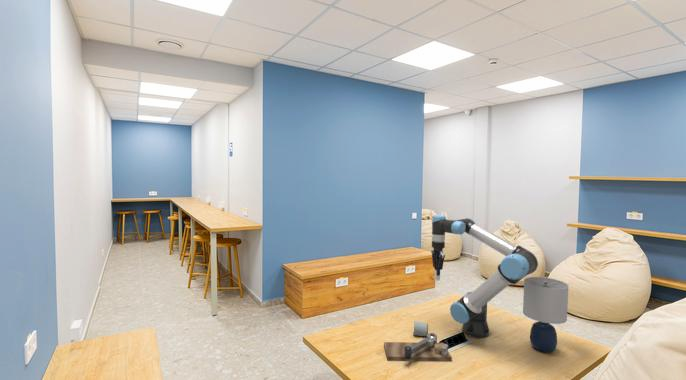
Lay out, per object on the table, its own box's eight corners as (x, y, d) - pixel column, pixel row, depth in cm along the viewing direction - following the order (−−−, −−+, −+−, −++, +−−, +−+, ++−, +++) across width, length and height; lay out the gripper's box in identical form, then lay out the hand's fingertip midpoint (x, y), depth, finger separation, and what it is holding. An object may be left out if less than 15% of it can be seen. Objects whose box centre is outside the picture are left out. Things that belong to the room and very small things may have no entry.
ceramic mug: (428, 338, 199) (428, 325, 199) (413, 337, 201) (413, 324, 200) (427, 331, 209) (428, 318, 209) (413, 329, 211) (414, 316, 211)
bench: (443, 346, 191) (443, 335, 190) (451, 361, 176) (452, 349, 175) (383, 345, 191) (384, 334, 190) (387, 360, 176) (387, 348, 175)
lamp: (559, 343, 195) (562, 278, 193) (570, 362, 176) (573, 289, 174) (519, 337, 202) (521, 274, 200) (524, 354, 183) (527, 284, 181)
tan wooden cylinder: (441, 350, 182) (441, 343, 182) (443, 354, 178) (443, 347, 178) (433, 350, 182) (433, 343, 182) (435, 354, 178) (435, 347, 178)
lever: (430, 339, 190) (430, 330, 190) (439, 343, 187) (439, 334, 186) (401, 356, 173) (401, 346, 173) (410, 360, 169) (410, 350, 169)
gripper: (427, 239, 216) (426, 277, 217) (437, 243, 203) (436, 283, 204) (438, 238, 217) (437, 276, 219) (449, 243, 205) (448, 283, 206)
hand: (437, 280), depth 211 cm, fingers closed
